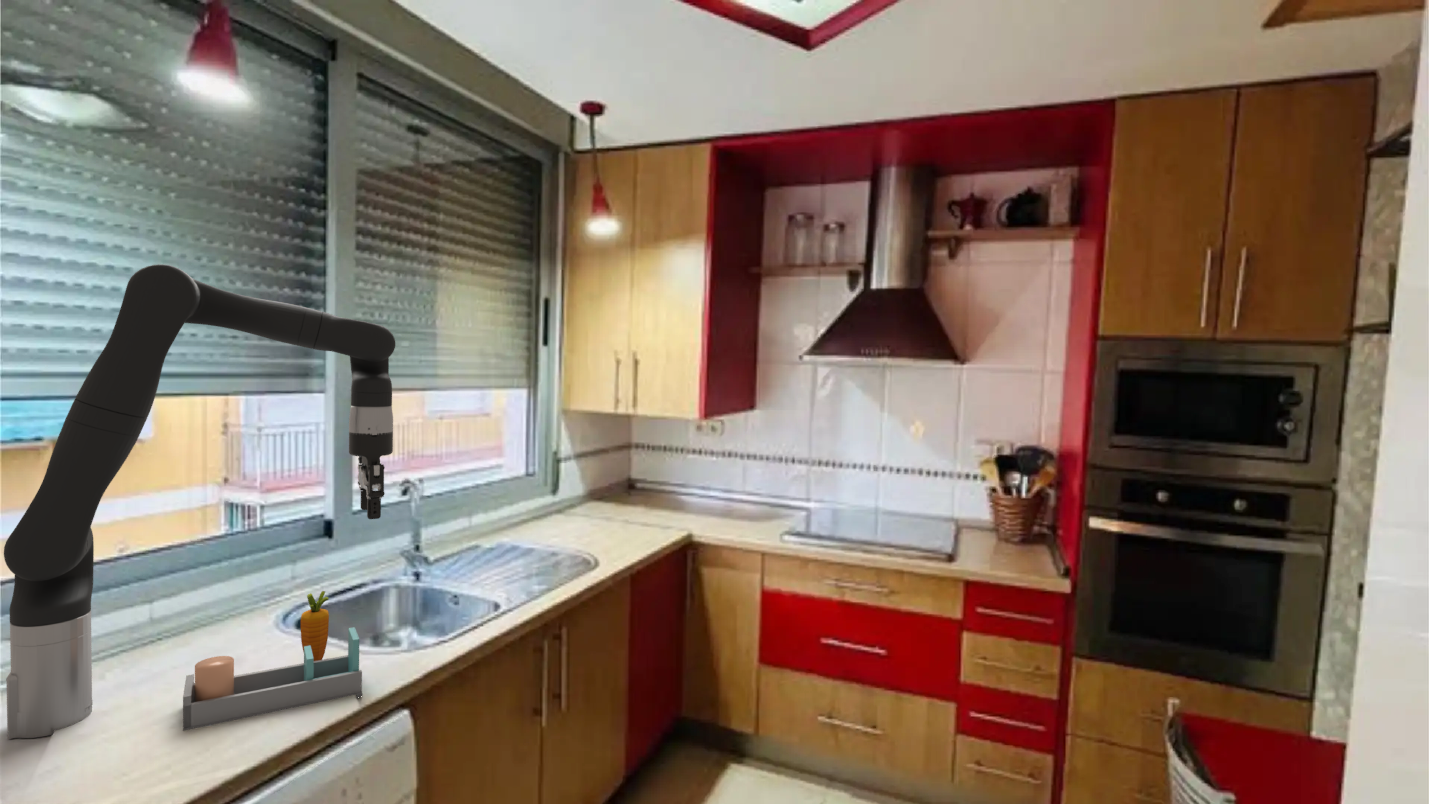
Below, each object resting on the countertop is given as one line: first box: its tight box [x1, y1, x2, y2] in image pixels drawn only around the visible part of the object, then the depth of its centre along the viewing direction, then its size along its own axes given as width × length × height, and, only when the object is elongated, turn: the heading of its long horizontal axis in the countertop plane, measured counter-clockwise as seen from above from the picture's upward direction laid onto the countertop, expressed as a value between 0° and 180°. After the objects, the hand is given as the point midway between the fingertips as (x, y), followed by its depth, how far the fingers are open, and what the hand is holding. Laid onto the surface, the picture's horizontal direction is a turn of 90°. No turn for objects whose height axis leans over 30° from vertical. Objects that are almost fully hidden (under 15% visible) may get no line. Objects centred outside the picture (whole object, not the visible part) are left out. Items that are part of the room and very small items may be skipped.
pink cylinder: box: [194, 655, 235, 702], centre depth 114 cm, size 5×5×8 cm
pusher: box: [303, 626, 360, 681], centre depth 124 cm, size 8×6×9 cm
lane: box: [182, 654, 363, 732], centre depth 119 cm, size 25×10×6 cm, turn 124°
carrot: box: [300, 590, 330, 661], centre depth 132 cm, size 5×5×15 cm
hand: (370, 514), depth 134 cm, fingers open, 8 cm apart
